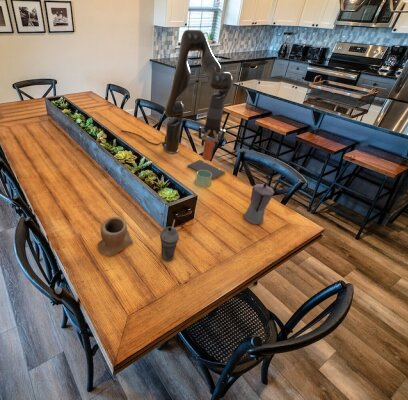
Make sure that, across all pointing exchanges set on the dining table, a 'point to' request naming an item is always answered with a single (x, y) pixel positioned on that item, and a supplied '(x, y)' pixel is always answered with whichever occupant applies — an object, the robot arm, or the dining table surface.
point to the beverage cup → (169, 242)
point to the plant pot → (208, 148)
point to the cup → (203, 178)
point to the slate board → (206, 168)
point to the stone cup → (114, 236)
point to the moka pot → (258, 203)
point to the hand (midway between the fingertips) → (208, 146)
